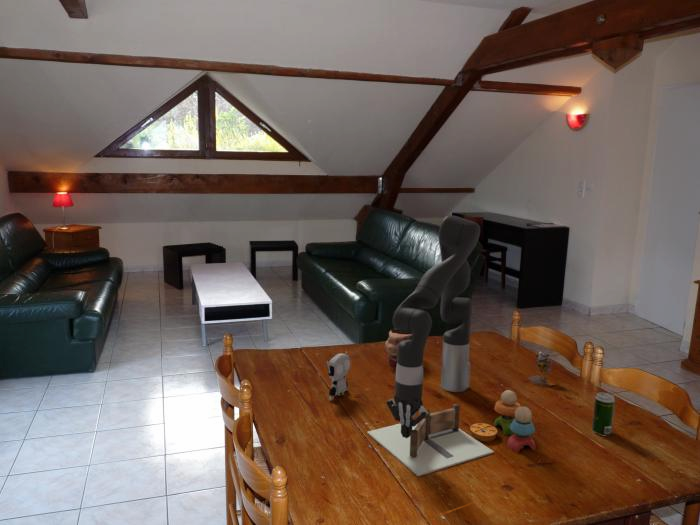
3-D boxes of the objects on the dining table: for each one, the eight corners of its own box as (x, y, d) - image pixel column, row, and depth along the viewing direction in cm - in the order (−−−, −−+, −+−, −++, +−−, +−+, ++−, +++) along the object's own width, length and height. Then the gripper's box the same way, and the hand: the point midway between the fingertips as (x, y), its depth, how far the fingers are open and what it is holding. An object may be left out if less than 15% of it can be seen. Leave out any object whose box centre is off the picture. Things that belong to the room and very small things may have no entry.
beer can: (615, 434, 170) (619, 397, 168) (602, 438, 168) (606, 400, 166) (600, 427, 175) (604, 390, 173) (587, 430, 173) (591, 393, 170)
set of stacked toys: (462, 430, 172) (464, 391, 170) (509, 421, 178) (511, 384, 176) (497, 459, 155) (500, 417, 153) (548, 449, 162) (551, 408, 159)
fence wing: (419, 438, 164) (420, 415, 163) (426, 439, 163) (427, 417, 162) (408, 456, 154) (409, 432, 153) (415, 457, 153) (416, 434, 152)
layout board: (436, 415, 181) (436, 413, 181) (493, 452, 159) (493, 450, 158) (367, 433, 169) (367, 431, 168) (417, 476, 146) (418, 474, 146)
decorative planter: (397, 353, 237) (398, 321, 235) (425, 358, 232) (426, 326, 229) (377, 368, 220) (378, 334, 217) (407, 374, 214) (408, 339, 212)
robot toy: (335, 404, 188) (336, 361, 185) (324, 401, 190) (325, 359, 187) (354, 391, 198) (355, 351, 195) (343, 388, 200) (344, 348, 198)
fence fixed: (455, 427, 172) (456, 402, 171) (460, 430, 170) (461, 405, 169) (418, 437, 166) (419, 411, 164) (423, 440, 164) (424, 415, 162)
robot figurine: (560, 381, 211) (563, 351, 208) (557, 390, 202) (559, 358, 200) (529, 375, 216) (532, 346, 213) (525, 384, 207) (527, 353, 205)
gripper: (381, 376, 155) (379, 434, 158) (424, 389, 148) (420, 449, 151) (395, 368, 161) (392, 424, 164) (437, 380, 154) (433, 438, 157)
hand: (406, 436), depth 158 cm, fingers closed
